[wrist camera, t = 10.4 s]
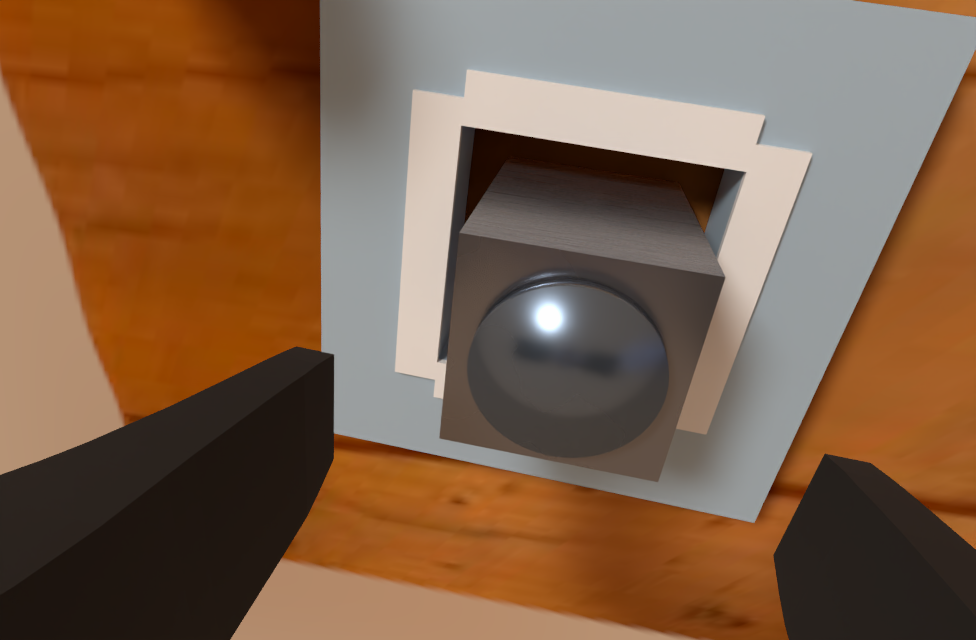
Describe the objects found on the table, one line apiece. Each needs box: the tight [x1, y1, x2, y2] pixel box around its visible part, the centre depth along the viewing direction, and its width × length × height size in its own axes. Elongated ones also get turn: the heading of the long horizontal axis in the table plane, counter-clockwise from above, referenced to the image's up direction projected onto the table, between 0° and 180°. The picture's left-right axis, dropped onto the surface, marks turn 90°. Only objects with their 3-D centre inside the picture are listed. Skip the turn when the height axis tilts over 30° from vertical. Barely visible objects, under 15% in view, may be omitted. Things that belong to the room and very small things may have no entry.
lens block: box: [439, 156, 726, 482], centre depth 14 cm, size 4×4×7 cm
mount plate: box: [320, 0, 976, 523], centre depth 16 cm, size 14×14×2 cm
